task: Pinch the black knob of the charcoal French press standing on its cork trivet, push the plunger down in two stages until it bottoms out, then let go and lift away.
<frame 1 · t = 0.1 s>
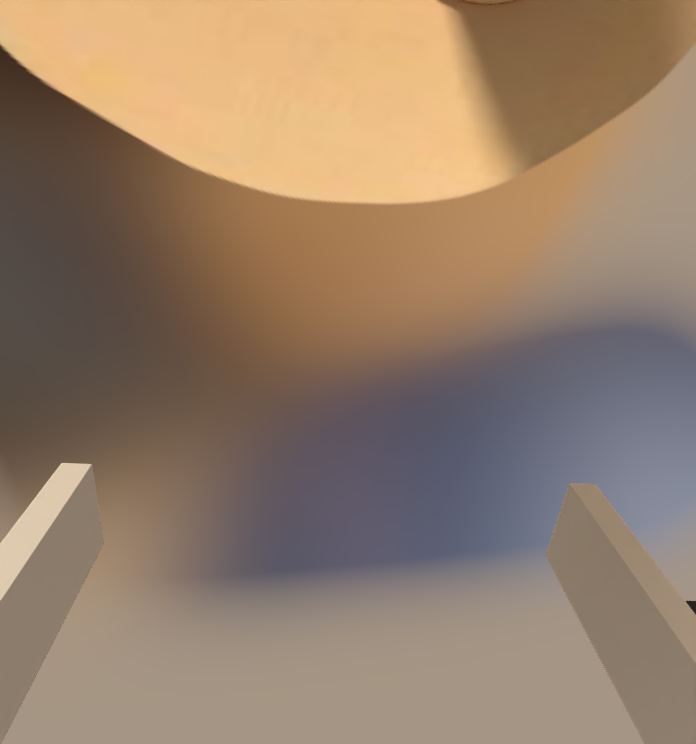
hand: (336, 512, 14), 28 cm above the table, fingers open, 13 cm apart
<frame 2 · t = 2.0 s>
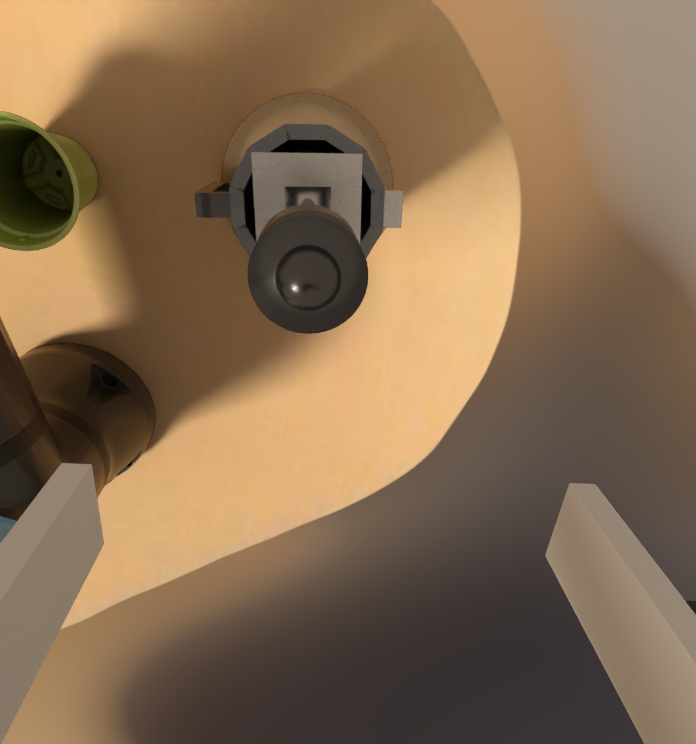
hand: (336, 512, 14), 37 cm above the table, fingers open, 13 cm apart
plunger: (308, 231, 27), point 21 cm above the table, slide at 7.0 cm
press: (308, 188, 46), on the table
plant pot: (62, 174, 44), on the table
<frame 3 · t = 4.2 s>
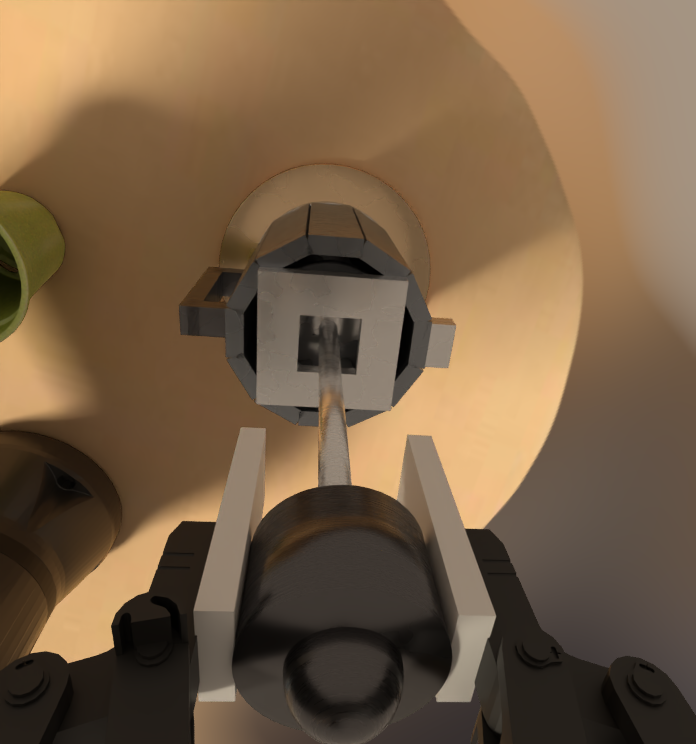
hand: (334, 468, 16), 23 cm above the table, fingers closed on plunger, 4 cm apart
plunger: (332, 423, 19), point 21 cm above the table, slide at 7.0 cm, touching gripper
press: (325, 275, 37), on the table
plant pot: (20, 238, 35), on the table
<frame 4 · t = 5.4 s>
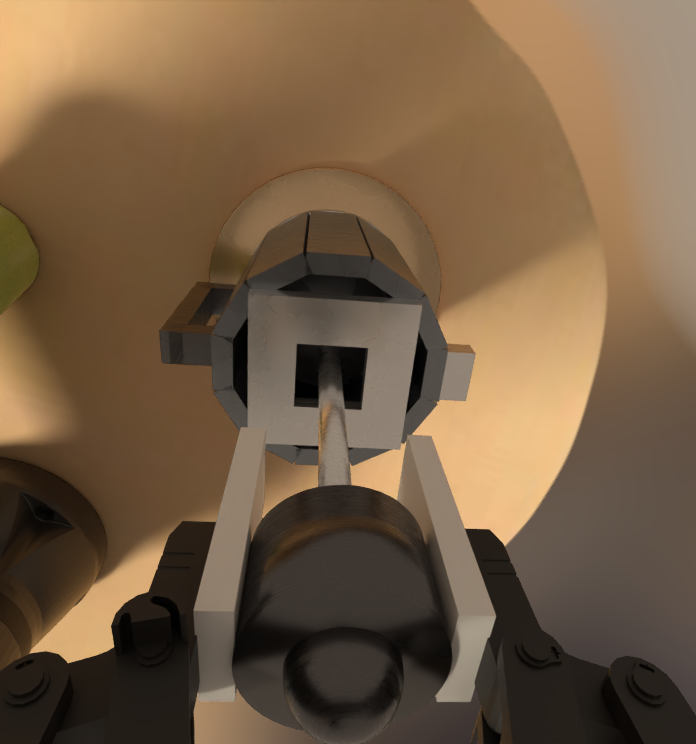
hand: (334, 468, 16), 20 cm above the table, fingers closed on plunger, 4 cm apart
plunger: (332, 423, 19), point 17 cm above the table, slide at 3.4 cm, touching gripper
press: (326, 289, 34), on the table
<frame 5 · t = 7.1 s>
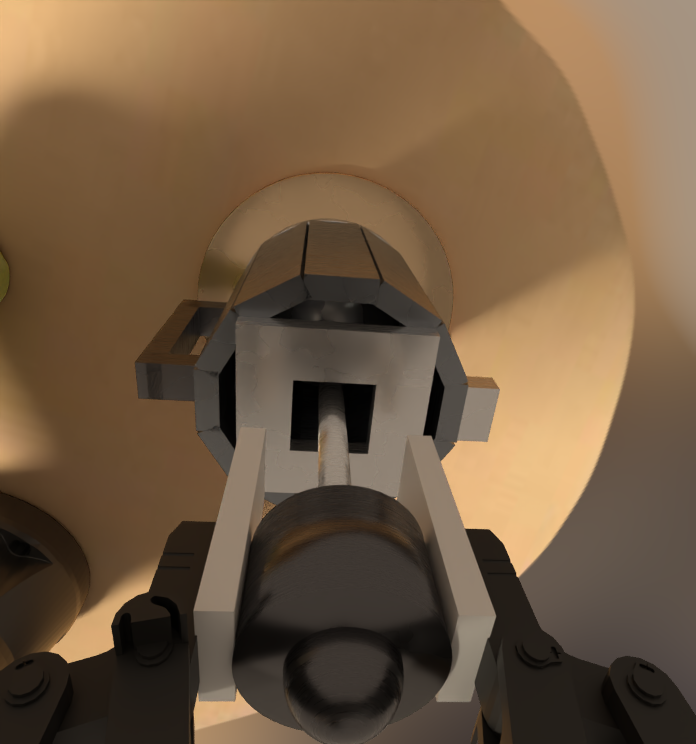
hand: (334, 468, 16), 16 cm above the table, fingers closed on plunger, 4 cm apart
plunger: (332, 423, 19), point 14 cm above the table, slide at 0.0 cm, touching gripper
press: (326, 305, 31), on the table
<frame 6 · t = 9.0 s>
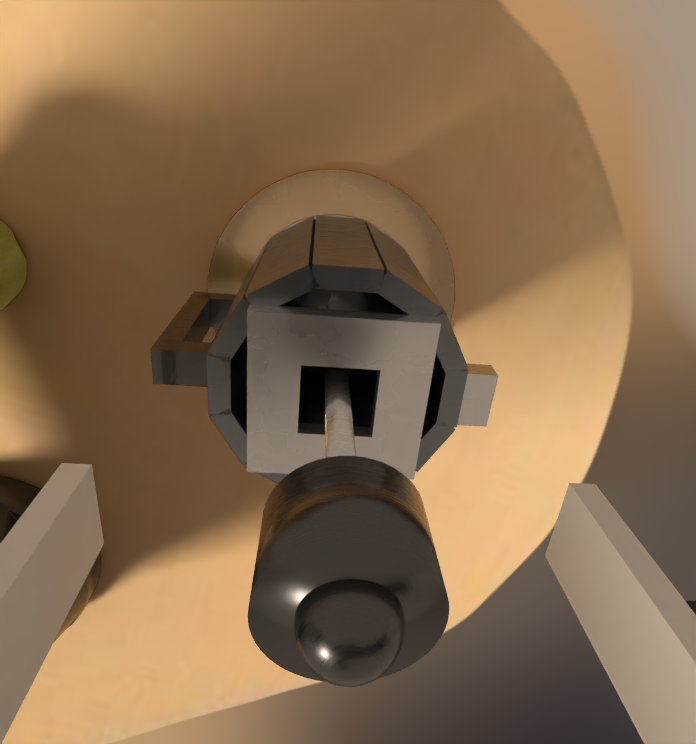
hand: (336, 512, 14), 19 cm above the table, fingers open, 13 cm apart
plunger: (338, 407, 20), point 14 cm above the table, slide at 0.0 cm
press: (332, 298, 32), on the table
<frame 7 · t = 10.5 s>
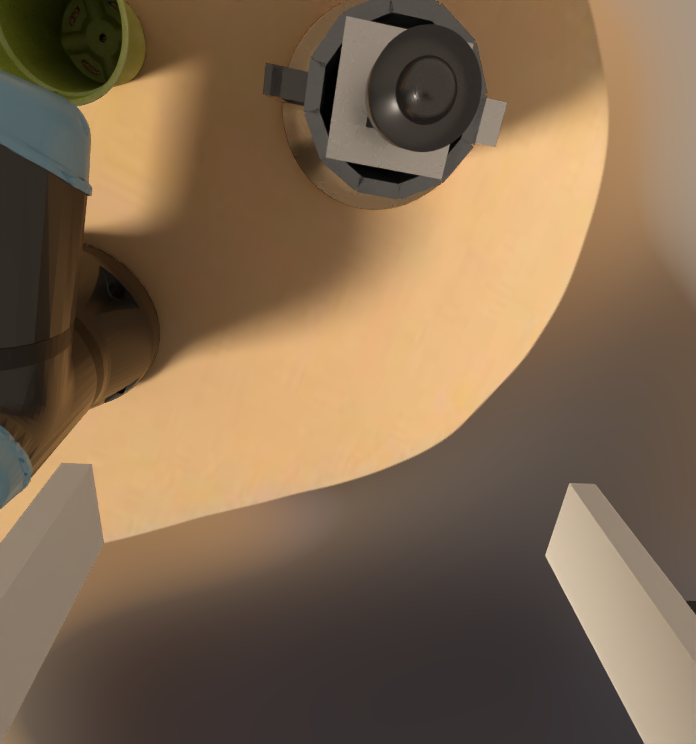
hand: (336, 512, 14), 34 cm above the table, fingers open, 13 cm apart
plunger: (397, 102, 29), point 14 cm above the table, slide at 0.0 cm
press: (377, 110, 41), on the table
plant pot: (105, 41, 39), on the table
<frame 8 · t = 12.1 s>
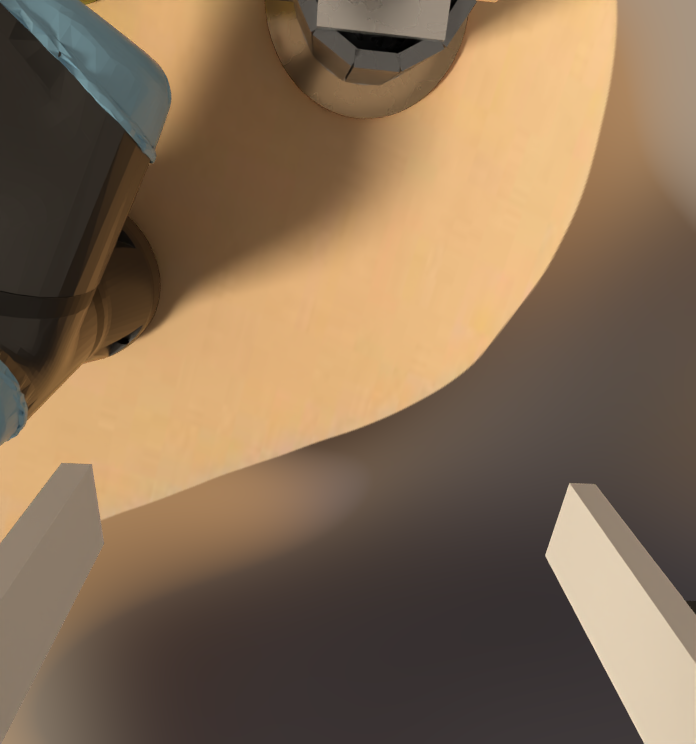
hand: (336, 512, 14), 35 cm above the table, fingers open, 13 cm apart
press: (367, 6, 38), on the table
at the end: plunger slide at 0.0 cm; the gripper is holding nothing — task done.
